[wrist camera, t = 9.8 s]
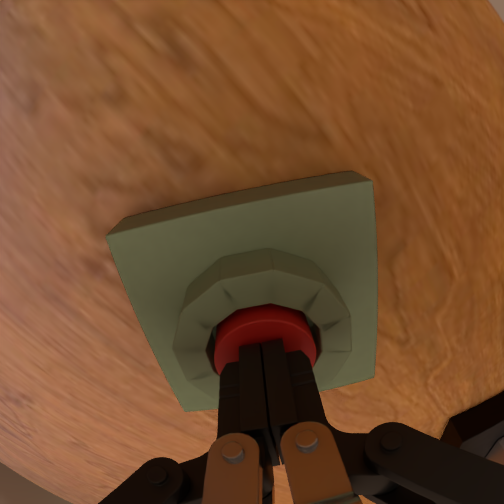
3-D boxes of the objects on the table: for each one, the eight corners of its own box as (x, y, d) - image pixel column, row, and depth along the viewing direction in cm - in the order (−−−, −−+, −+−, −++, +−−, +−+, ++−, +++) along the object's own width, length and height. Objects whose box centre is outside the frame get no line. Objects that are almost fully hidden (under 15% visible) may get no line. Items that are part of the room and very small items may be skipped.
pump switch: (352, 170, 13) (395, 191, 9) (362, 351, 17) (386, 403, 13) (122, 218, 13) (84, 255, 9) (188, 383, 17) (180, 439, 13)
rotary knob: (497, 439, 20) (515, 472, 15) (509, 432, 20) (528, 463, 15) (481, 462, 22) (496, 491, 17) (493, 455, 22) (508, 484, 17)
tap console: (533, 372, 20) (548, 391, 18) (499, 433, 25) (509, 450, 22) (449, 418, 21) (463, 443, 18) (424, 471, 25) (432, 491, 23)
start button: (302, 283, 12) (311, 310, 10) (311, 355, 13) (319, 384, 11) (205, 302, 12) (201, 330, 10) (228, 370, 13) (228, 400, 11)
